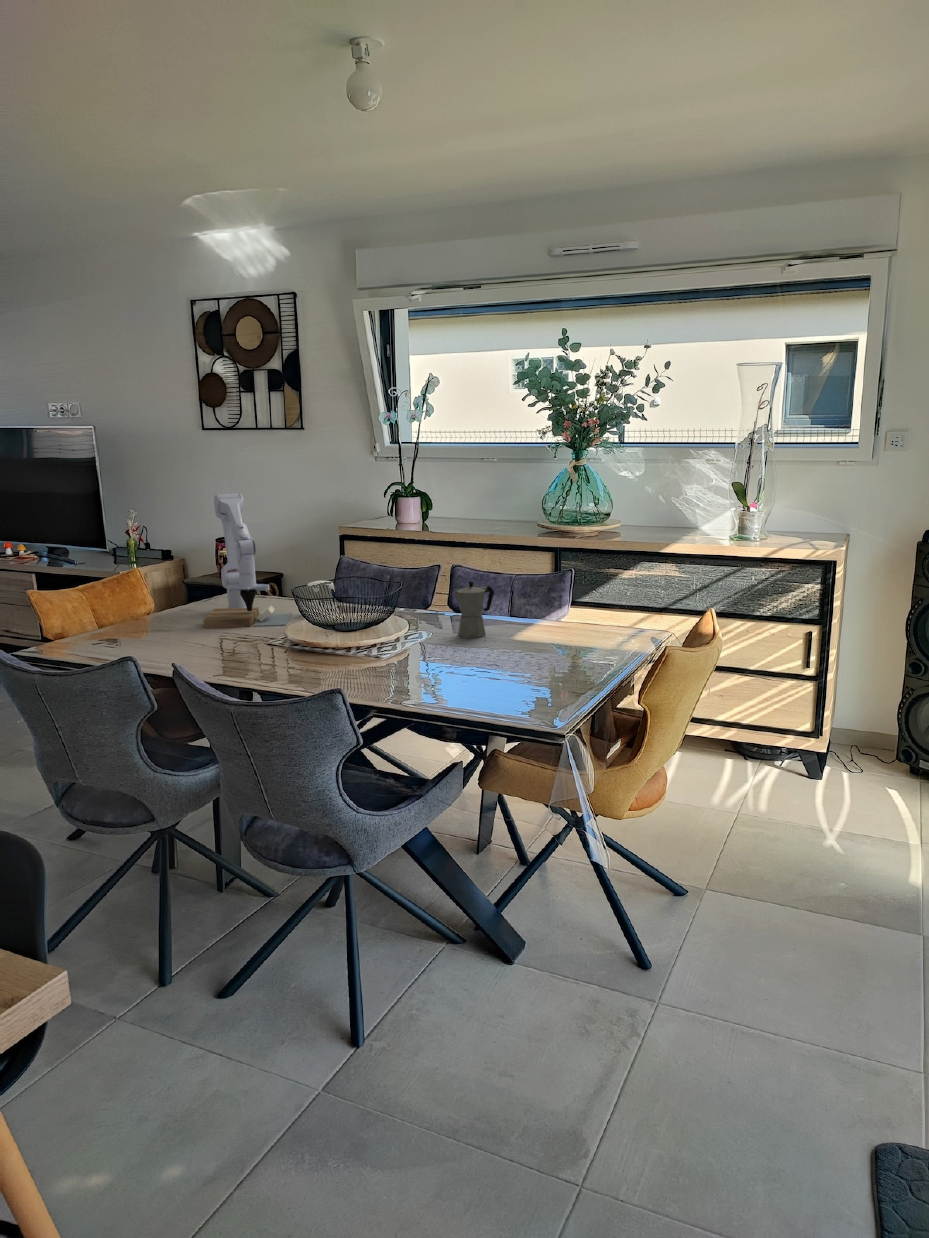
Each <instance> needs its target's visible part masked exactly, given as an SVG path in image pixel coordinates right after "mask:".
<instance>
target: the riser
mask: <svg viewBox="0 0 929 1238" xmlns="http://www.w3.org/2000/svg"><path fill="white" fill-rule="evenodd" d="M259 609H260V608H259V607H256V606H255V607H254V606H253V607H252V611H247V608H222V607H221V608H220V607H219V608H213V610H211V612H210V613H208V615H206V617H205V618H204V619H203V629H217V628H219V629H220V628H223V629H224V628H243V627H242V626H251V627H252V626H253V625H254V624H255V623H256V622H255V621H257V620H258V618H257V617H258V616H259V614H260V611H259Z"/></svg>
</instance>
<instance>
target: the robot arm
mask: <svg viewBox="0 0 929 1238" xmlns="http://www.w3.org/2000/svg"><path fill="white" fill-rule="evenodd" d="M213 503H214V504H213V506H214V511H215V516H216V518H217V519H220V520H221V524H222V528H223V536H224V544H225V551H226V558H227V563H226V564H224V565H223V566H222V568H221V570H220V571H221V576H220V577H221V583H222V584H221V585H222V587H223V588H224V589H226V595H227V607H228V608H247V611H252V608H253V607H254V606H253V605H254V601H255V598H256V594H257V592H258V591H270V584H265V583H257V578H256V564H255V555H256V553H257V549H256V547H257V546H256V541H255V539H254V538H253V537H252V536H251V535H250V531H249V529H248V525H246V523H243V518H242V512H243V509H244V507H245V506H244V503H245V501H244V497H243V495H242V493H240V492H237V493H224V494H218V493H216V494H215V495H214V496H213Z"/></svg>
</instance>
